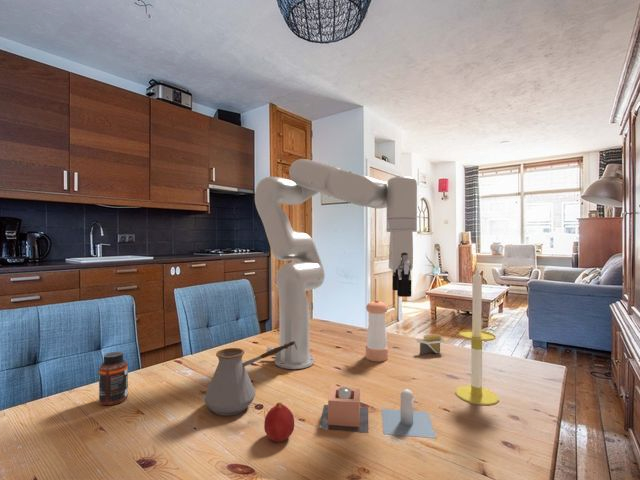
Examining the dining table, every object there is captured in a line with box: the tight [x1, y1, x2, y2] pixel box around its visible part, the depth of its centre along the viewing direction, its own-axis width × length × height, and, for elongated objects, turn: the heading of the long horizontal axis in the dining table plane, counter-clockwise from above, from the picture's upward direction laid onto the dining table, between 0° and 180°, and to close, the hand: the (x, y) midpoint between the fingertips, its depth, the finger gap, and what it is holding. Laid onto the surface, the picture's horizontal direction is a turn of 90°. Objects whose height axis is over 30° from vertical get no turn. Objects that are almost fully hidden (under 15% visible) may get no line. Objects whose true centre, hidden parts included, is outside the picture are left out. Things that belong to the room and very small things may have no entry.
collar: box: [327, 386, 361, 427], centre depth 73 cm, size 6×6×5 cm
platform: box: [416, 333, 445, 355], centre depth 117 cm, size 12×18×7 cm, turn 107°
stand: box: [317, 386, 369, 434], centre depth 73 cm, size 10×10×7 cm
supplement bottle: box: [98, 351, 129, 406], centre depth 82 cm, size 6×6×11 cm
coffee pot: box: [204, 341, 297, 417], centre depth 80 cm, size 21×12×15 cm, turn 96°
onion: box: [263, 401, 295, 443], centre depth 65 cm, size 6×6×8 cm
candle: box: [454, 267, 500, 406], centre depth 85 cm, size 10×10×32 cm
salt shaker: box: [365, 299, 389, 362], centre depth 112 cm, size 7×7×19 cm
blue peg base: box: [381, 388, 437, 439], centre depth 71 cm, size 10×10×8 cm
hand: (401, 293), depth 87 cm, fingers open, 9 cm apart
